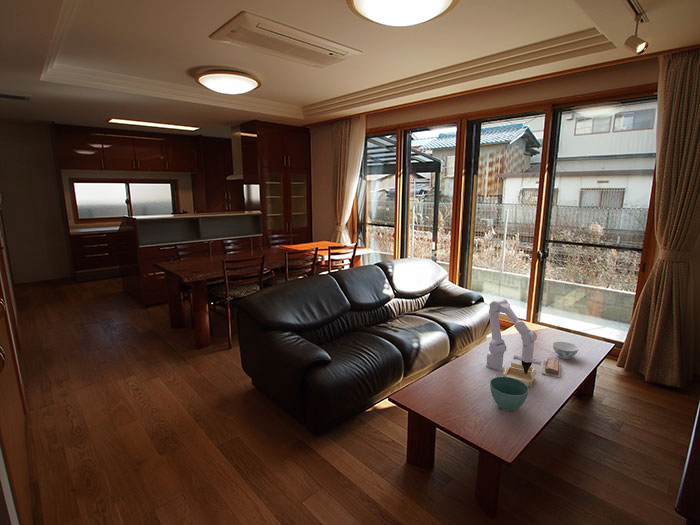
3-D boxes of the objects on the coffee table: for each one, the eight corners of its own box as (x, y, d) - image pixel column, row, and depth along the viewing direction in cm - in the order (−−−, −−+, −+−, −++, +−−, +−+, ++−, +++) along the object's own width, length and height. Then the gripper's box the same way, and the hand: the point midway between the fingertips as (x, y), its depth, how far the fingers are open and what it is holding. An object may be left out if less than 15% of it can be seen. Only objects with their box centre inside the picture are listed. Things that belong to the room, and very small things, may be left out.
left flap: (510, 366, 225) (510, 362, 223) (511, 365, 225) (511, 361, 224) (532, 371, 218) (532, 367, 217) (532, 370, 219) (532, 366, 217)
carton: (501, 380, 216) (502, 375, 216) (506, 371, 227) (506, 366, 226) (530, 387, 208) (531, 382, 207) (534, 378, 218) (534, 372, 217)
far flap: (532, 380, 208) (530, 374, 208) (534, 373, 217) (533, 367, 217) (533, 380, 208) (531, 374, 208) (536, 373, 216) (534, 367, 216)
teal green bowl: (534, 413, 184) (536, 391, 181) (504, 420, 179) (506, 397, 176) (509, 394, 201) (511, 374, 198) (481, 400, 196) (482, 379, 193)
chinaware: (582, 361, 238) (583, 350, 236) (559, 362, 238) (560, 351, 237) (569, 351, 252) (570, 341, 251) (547, 352, 253) (548, 341, 251)
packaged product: (544, 356, 237) (561, 359, 232) (543, 363, 238) (560, 366, 233) (542, 367, 222) (561, 371, 217) (541, 374, 223) (560, 379, 218)
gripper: (513, 351, 213) (511, 372, 215) (540, 357, 205) (538, 379, 207) (515, 346, 218) (513, 367, 221) (542, 352, 210) (540, 374, 213)
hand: (525, 373), depth 215 cm, fingers closed
